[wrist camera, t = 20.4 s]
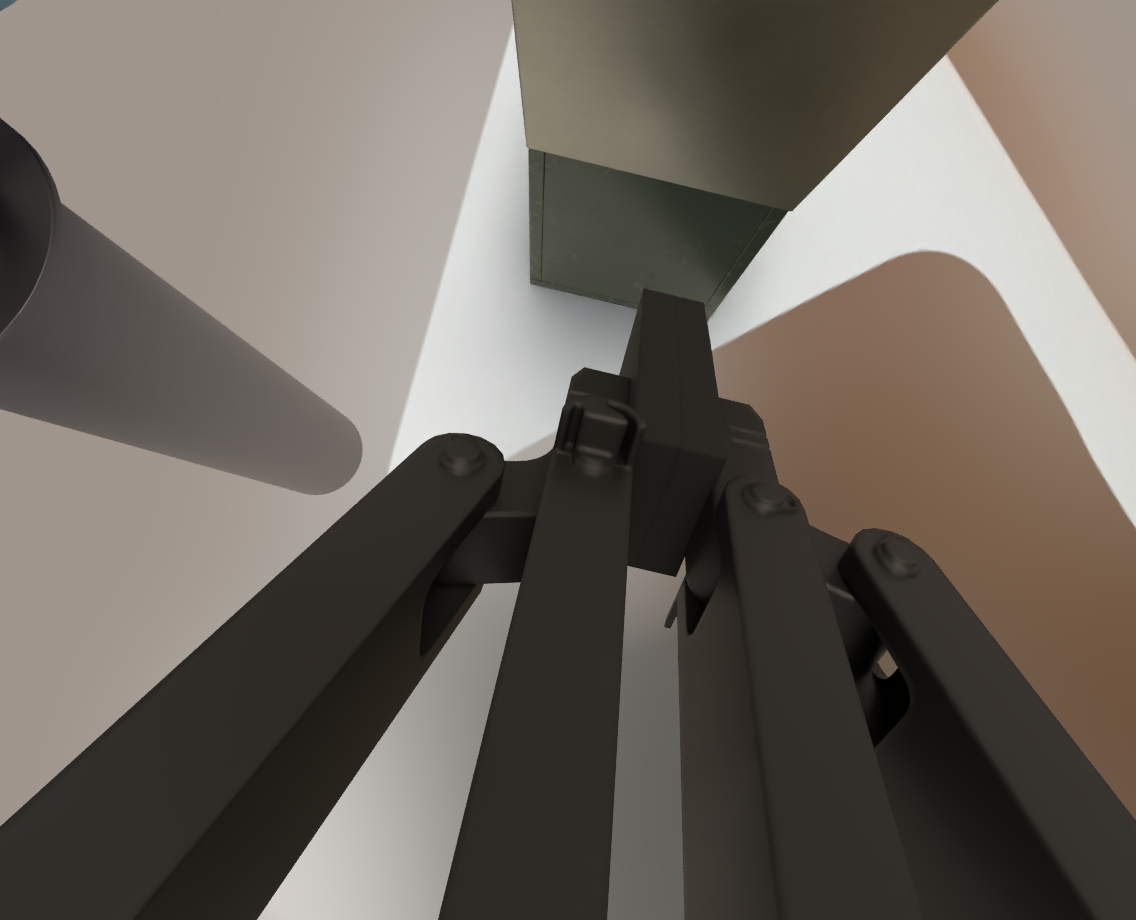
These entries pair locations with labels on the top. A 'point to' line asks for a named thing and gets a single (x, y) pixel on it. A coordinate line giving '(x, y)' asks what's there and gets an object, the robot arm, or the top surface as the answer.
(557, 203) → the bin
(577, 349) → the top surface
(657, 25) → the bin lid
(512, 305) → the top surface
